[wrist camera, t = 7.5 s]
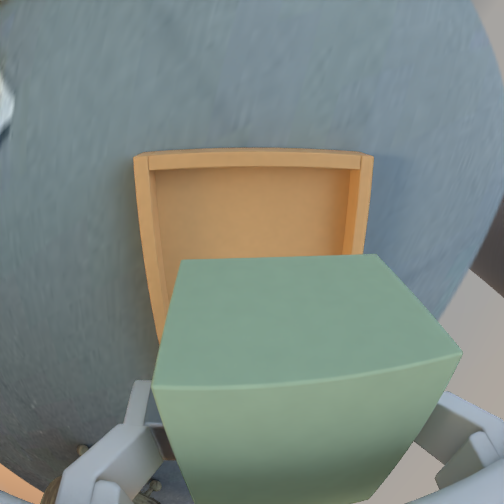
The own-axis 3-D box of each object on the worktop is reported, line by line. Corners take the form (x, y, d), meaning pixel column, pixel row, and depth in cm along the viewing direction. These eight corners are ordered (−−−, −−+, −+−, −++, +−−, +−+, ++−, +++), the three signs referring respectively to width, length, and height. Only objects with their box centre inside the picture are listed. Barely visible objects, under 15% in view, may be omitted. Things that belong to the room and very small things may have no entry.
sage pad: (376, 252, 9) (465, 352, 5) (338, 408, 12) (369, 499, 8) (180, 258, 8) (149, 386, 4) (202, 419, 11) (201, 520, 7)
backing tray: (360, 151, 18) (374, 156, 16) (326, 381, 25) (331, 398, 23) (142, 152, 17) (132, 156, 15) (176, 389, 24) (174, 407, 22)
